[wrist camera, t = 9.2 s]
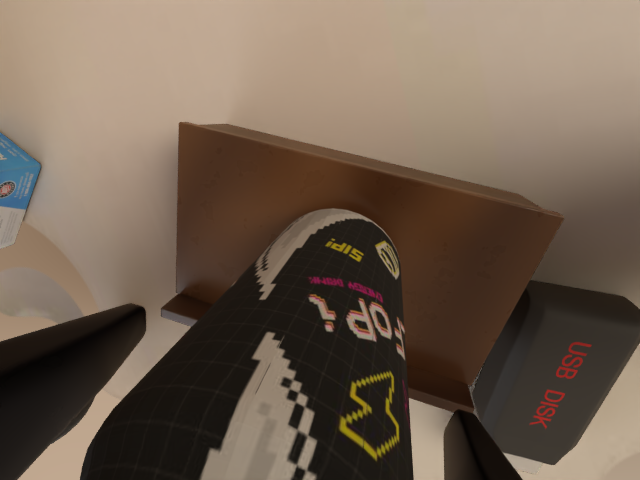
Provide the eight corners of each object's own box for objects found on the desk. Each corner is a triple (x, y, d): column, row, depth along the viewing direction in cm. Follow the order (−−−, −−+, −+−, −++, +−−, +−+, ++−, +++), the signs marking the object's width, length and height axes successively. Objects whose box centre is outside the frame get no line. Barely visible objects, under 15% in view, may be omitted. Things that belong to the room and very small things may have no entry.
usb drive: (624, 295, 16) (667, 328, 14) (540, 447, 21) (560, 492, 18) (517, 277, 17) (539, 304, 15) (459, 427, 22) (468, 467, 19)
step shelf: (525, 193, 16) (589, 229, 10) (453, 341, 19) (474, 420, 14) (222, 120, 17) (154, 122, 12) (212, 269, 21) (156, 315, 16)
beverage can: (285, 191, 14) (-105, 467, 3) (415, 218, 13) (536, 726, 2) (274, 298, 16) (28, 680, 5) (384, 326, 15) (366, 846, 4)
